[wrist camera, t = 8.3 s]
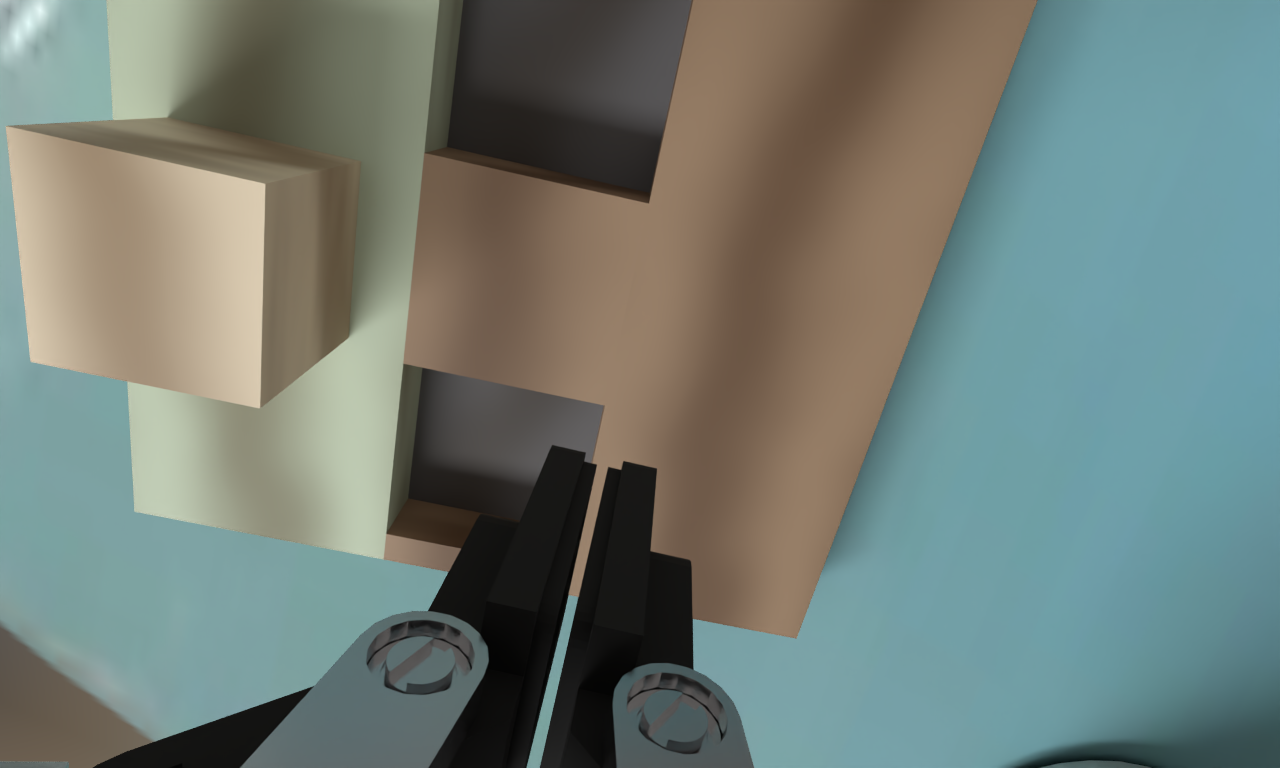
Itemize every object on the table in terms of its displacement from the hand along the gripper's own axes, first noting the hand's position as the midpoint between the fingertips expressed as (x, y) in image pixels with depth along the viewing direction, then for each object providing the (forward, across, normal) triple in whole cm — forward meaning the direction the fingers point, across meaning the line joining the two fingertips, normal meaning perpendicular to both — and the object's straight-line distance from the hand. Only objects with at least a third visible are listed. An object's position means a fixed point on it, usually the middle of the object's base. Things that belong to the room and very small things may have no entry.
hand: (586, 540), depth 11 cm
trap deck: (+12, +4, -1) cm, 13 cm away
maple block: (+10, +10, -1) cm, 14 cm away
